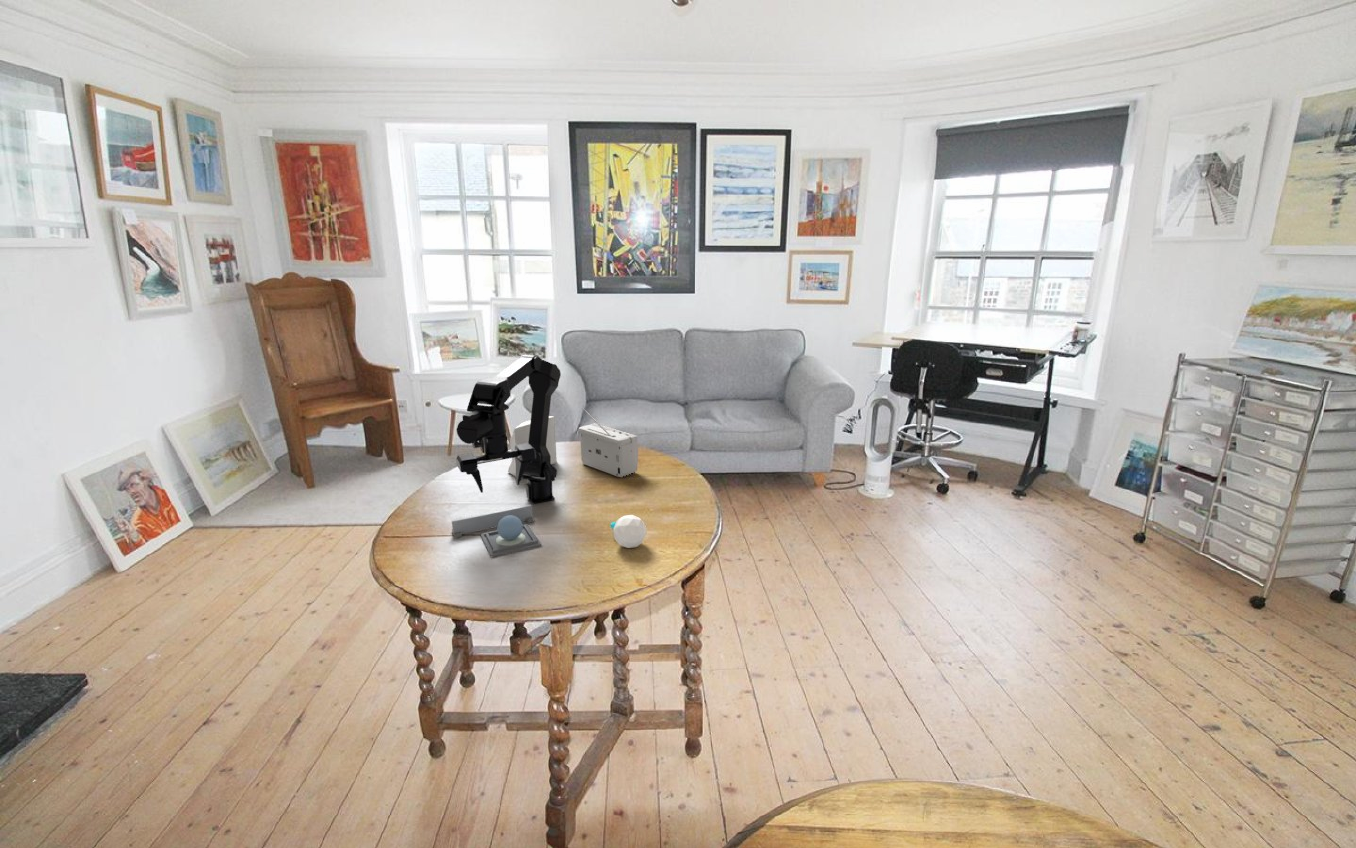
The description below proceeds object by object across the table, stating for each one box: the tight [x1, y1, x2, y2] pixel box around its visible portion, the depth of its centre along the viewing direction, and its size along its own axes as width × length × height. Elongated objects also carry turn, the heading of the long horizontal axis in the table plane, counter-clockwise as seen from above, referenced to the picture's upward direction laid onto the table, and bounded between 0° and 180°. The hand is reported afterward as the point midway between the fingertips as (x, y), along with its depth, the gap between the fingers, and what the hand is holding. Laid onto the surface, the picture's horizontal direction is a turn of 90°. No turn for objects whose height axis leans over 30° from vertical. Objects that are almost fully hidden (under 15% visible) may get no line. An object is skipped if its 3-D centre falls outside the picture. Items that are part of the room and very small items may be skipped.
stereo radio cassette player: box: [578, 407, 639, 478], centre depth 192 cm, size 21×8×20 cm, turn 49°
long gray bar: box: [451, 503, 535, 539], centre depth 154 cm, size 20×4×4 cm, turn 119°
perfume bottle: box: [610, 514, 647, 549], centre depth 146 cm, size 8×8×12 cm
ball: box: [496, 515, 523, 540], centre depth 146 cm, size 6×6×6 cm
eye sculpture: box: [507, 415, 558, 478], centre depth 194 cm, size 17×12×16 cm
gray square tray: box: [480, 523, 542, 558], centre depth 147 cm, size 12×12×1 cm
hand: (499, 488), depth 152 cm, fingers open, 9 cm apart
